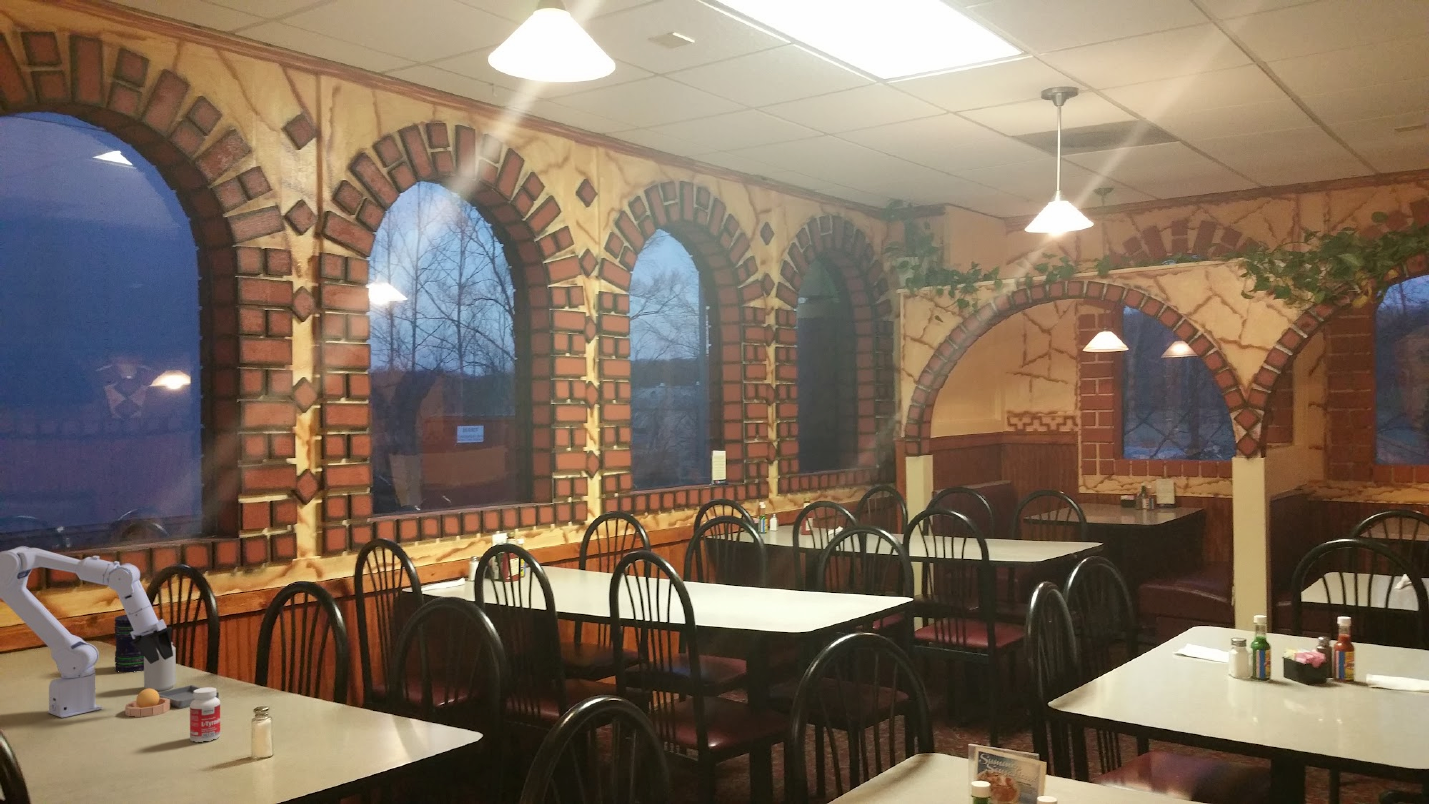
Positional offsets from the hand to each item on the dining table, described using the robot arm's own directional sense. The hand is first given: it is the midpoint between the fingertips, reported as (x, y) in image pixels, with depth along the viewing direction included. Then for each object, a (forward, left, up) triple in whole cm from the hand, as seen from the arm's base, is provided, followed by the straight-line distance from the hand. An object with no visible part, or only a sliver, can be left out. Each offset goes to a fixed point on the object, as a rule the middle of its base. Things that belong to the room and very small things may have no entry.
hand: (161, 659), depth 268 cm
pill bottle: (-8, -35, -12) cm, 37 cm away
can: (+8, +17, -12) cm, 22 cm away
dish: (-4, -2, -12) cm, 12 cm away
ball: (-4, -2, -9) cm, 10 cm away
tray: (+6, 0, -12) cm, 13 cm away
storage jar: (+15, +45, -12) cm, 49 cm away
